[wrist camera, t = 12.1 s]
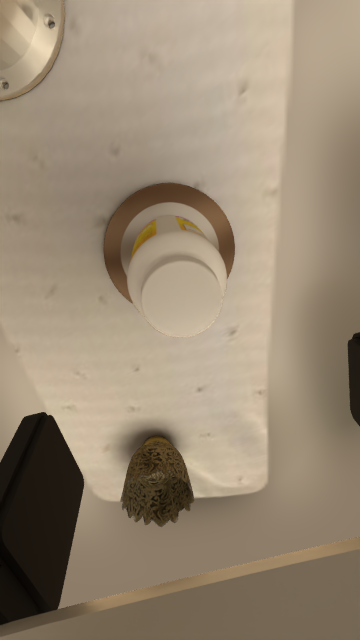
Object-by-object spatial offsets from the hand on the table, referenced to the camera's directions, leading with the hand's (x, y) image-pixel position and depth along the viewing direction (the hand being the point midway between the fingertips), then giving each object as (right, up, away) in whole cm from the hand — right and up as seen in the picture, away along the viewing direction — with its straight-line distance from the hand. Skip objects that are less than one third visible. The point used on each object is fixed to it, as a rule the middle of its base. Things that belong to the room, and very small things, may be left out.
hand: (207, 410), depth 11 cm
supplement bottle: (-2, +9, +21) cm, 23 cm away
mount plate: (-2, +9, +22) cm, 24 cm away
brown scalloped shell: (-4, -13, +32) cm, 34 cm away
